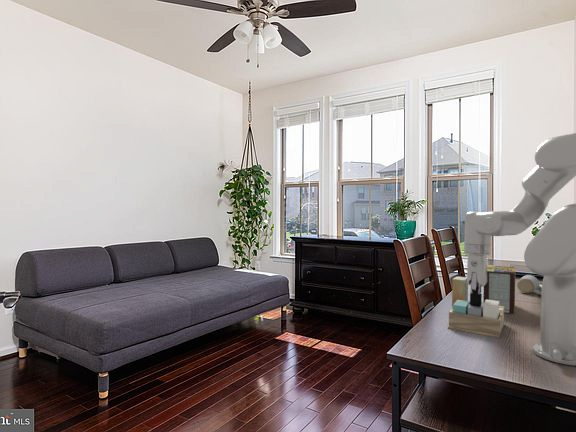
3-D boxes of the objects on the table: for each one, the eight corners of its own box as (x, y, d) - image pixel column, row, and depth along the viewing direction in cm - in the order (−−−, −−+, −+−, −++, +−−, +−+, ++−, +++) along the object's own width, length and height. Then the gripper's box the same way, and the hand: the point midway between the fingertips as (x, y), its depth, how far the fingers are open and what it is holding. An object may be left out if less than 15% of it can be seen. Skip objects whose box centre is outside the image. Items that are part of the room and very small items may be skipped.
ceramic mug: (515, 292, 169) (516, 276, 169) (520, 289, 175) (521, 273, 174) (543, 297, 161) (543, 279, 161) (547, 294, 167) (547, 277, 167)
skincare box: (456, 306, 144) (456, 276, 144) (468, 308, 141) (468, 277, 141) (451, 310, 139) (451, 278, 139) (463, 312, 136) (464, 280, 136)
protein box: (513, 305, 147) (514, 266, 147) (514, 314, 134) (515, 272, 134) (484, 301, 153) (485, 264, 152) (482, 310, 139) (483, 270, 139)
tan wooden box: (499, 337, 110) (500, 317, 110) (447, 328, 118) (448, 309, 118) (503, 323, 123) (504, 305, 123) (456, 316, 132) (457, 298, 131)
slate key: (480, 324, 115) (481, 309, 115) (467, 322, 117) (467, 307, 117) (483, 319, 121) (483, 304, 121) (470, 317, 123) (471, 302, 123)
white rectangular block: (496, 322, 113) (497, 306, 112) (483, 319, 115) (483, 304, 115) (499, 316, 118) (499, 301, 118) (485, 314, 120) (486, 299, 120)
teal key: (465, 322, 118) (465, 306, 117) (452, 320, 120) (453, 304, 120) (468, 316, 123) (469, 302, 123) (456, 314, 126) (457, 300, 125)
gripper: (487, 252, 110) (485, 313, 111) (492, 248, 122) (491, 302, 123) (460, 250, 114) (458, 308, 115) (467, 246, 127) (466, 299, 127)
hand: (475, 305), depth 119 cm, fingers closed
